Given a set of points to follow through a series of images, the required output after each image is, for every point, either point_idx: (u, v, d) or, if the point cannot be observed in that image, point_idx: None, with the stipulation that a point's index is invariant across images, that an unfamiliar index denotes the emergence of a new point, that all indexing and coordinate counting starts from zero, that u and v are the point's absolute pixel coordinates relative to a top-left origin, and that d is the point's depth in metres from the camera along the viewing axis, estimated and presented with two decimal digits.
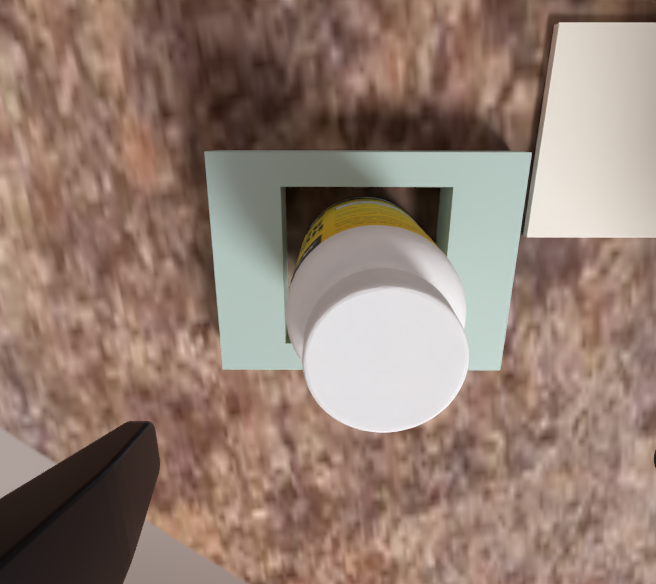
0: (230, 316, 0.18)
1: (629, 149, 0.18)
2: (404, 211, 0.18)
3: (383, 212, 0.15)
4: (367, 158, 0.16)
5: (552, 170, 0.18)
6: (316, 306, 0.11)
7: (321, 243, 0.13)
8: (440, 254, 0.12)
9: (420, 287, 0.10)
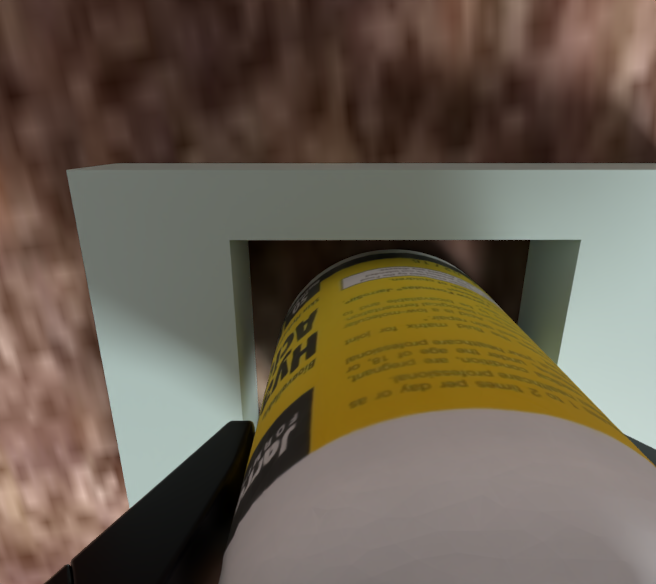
0: (146, 472, 0.10)
1: None
2: (470, 278, 0.10)
3: (458, 317, 0.06)
4: (407, 183, 0.08)
5: None
6: None
7: (310, 459, 0.04)
8: None
9: None
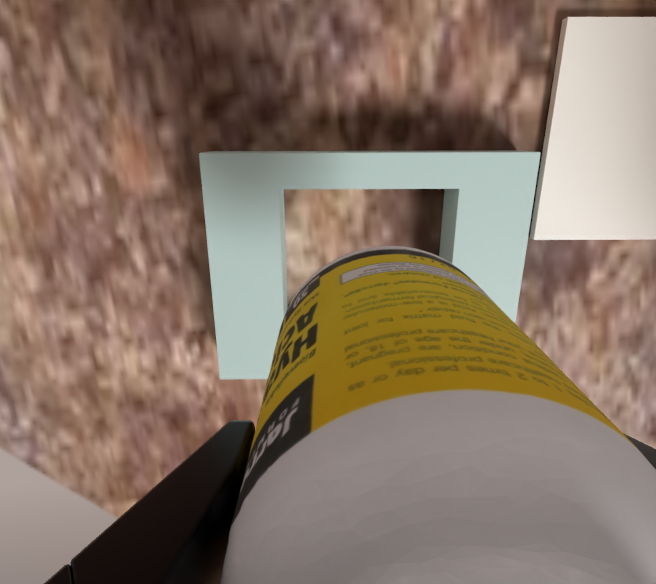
0: (227, 324, 0.18)
1: (639, 148, 0.17)
2: (465, 274, 0.10)
3: (452, 308, 0.07)
4: (369, 159, 0.16)
5: (560, 170, 0.17)
6: None
7: (312, 437, 0.05)
8: None
9: None
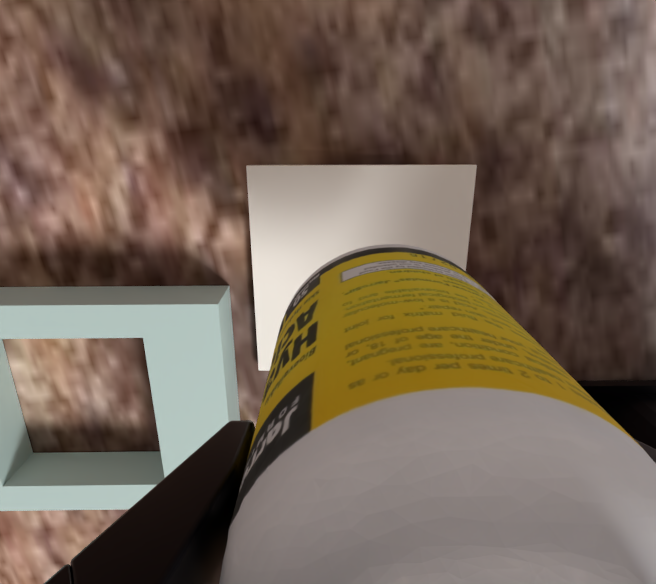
0: None
1: None
2: (466, 272, 0.10)
3: (453, 306, 0.07)
4: (43, 311, 0.15)
5: (271, 307, 0.17)
6: None
7: (312, 435, 0.05)
8: None
9: None
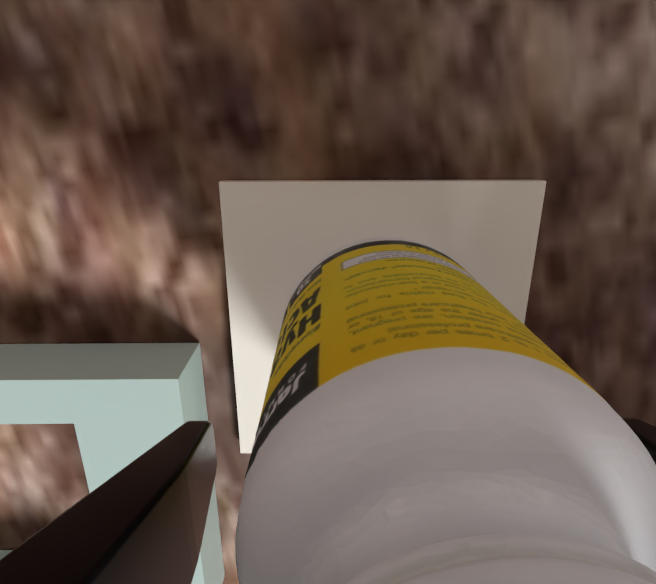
0: None
1: None
2: None
3: (444, 287, 0.07)
4: None
5: (256, 372, 0.13)
6: None
7: (319, 390, 0.05)
8: (625, 429, 0.05)
9: None
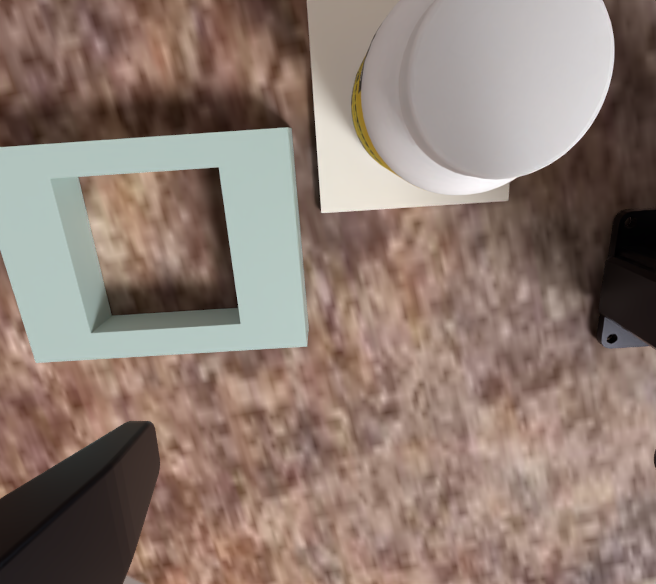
0: (31, 309, 0.19)
1: None
2: None
3: None
4: (127, 145, 0.17)
5: (332, 144, 0.18)
6: (416, 24, 0.09)
7: None
8: None
9: None
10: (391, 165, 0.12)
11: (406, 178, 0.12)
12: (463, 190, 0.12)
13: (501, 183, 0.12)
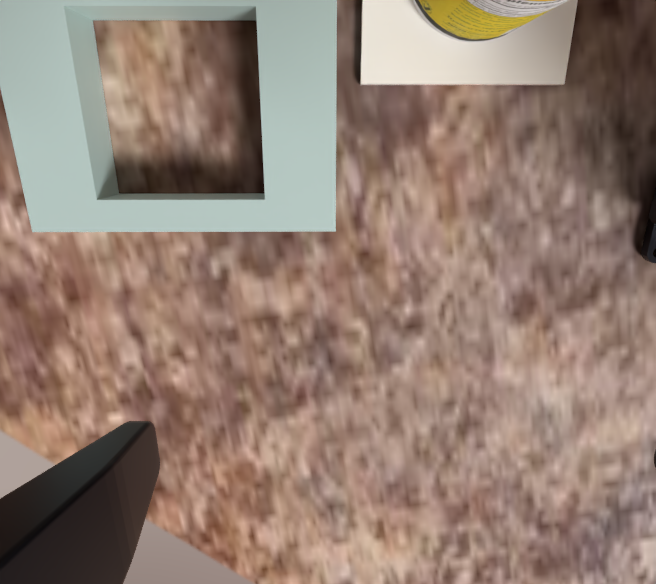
0: (31, 166, 0.17)
1: None
2: None
3: None
4: None
5: (379, 2, 0.17)
6: None
7: None
8: None
9: None
10: None
11: None
12: None
13: None
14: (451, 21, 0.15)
